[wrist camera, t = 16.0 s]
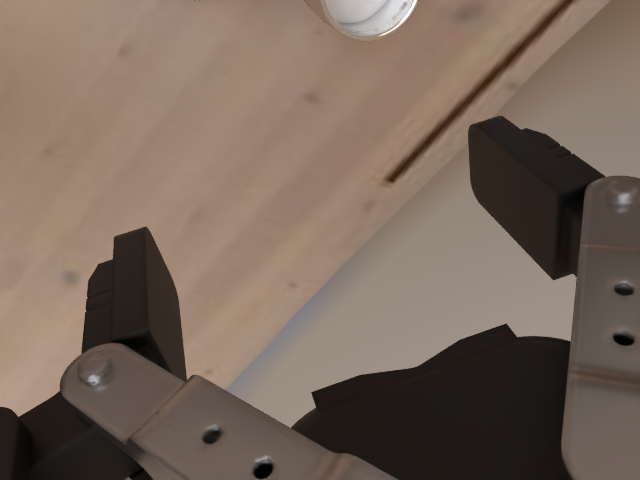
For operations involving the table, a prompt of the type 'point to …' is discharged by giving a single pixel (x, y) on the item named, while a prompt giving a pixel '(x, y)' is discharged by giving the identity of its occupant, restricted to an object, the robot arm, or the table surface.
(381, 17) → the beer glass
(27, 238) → the table surface
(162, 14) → the table surface
